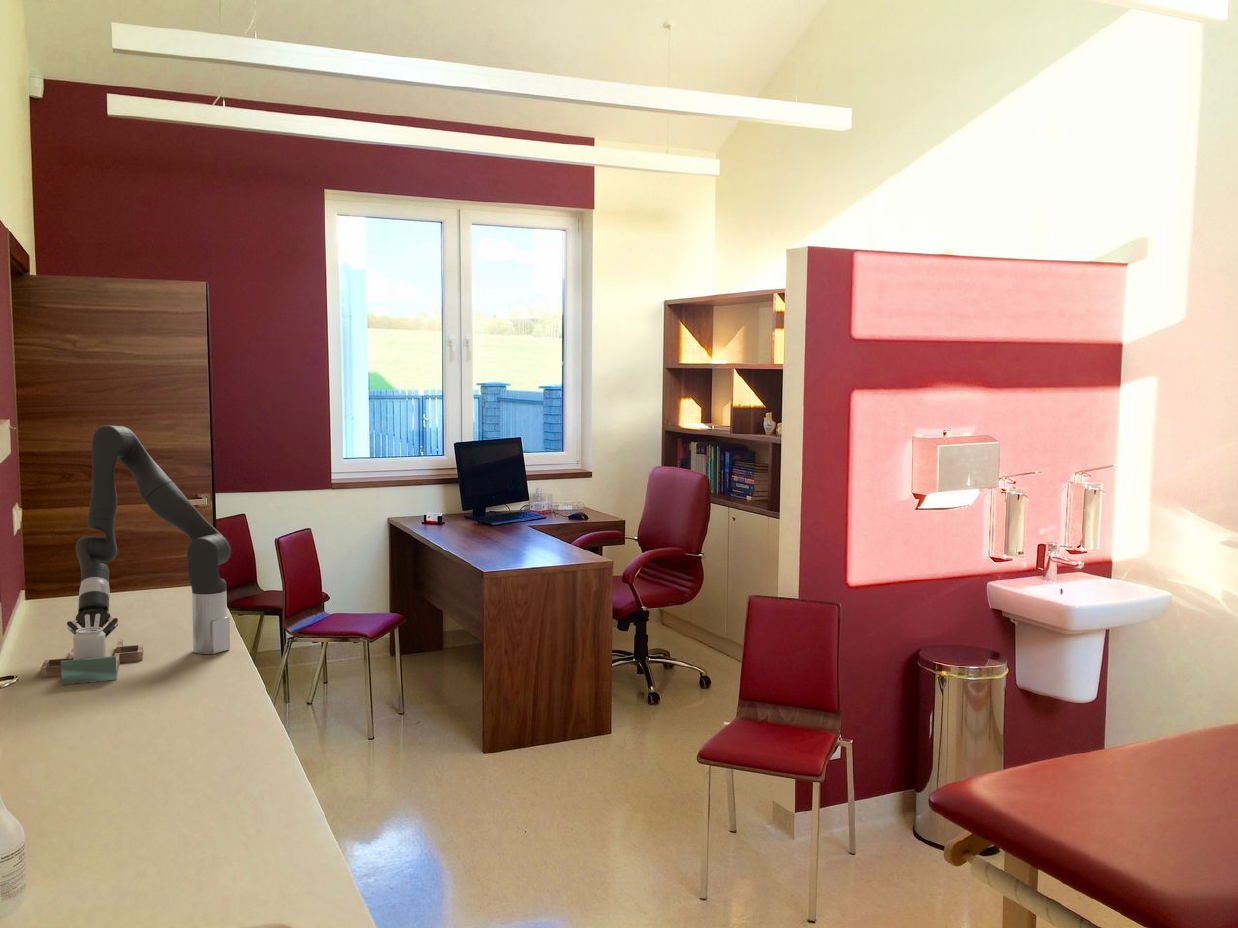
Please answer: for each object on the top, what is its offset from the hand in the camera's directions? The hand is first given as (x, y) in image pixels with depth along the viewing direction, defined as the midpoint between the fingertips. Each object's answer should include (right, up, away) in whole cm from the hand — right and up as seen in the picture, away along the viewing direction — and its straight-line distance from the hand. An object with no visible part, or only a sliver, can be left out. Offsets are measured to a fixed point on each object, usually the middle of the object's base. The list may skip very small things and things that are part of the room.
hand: (91, 651), depth 267 cm
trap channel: (-2, -4, +5) cm, 7 cm away
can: (+2, -5, -4) cm, 7 cm away
